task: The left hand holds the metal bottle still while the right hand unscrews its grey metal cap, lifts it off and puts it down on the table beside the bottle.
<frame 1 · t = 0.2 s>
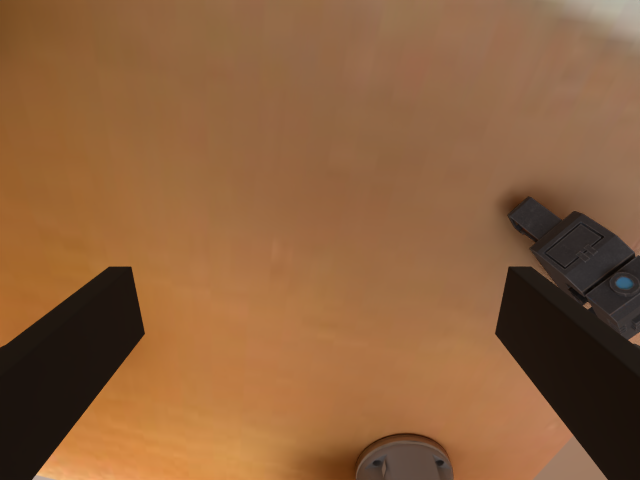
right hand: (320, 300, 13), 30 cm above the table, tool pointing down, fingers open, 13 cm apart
tool: (556, 252, 44), on the table
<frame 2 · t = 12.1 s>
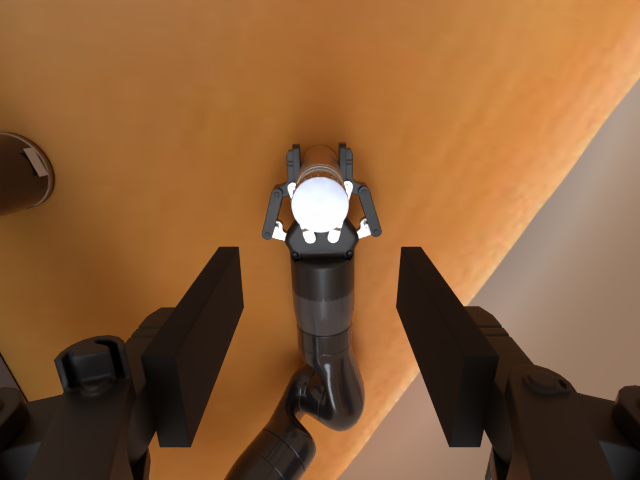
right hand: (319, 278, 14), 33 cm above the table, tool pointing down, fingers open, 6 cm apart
left hand: (318, 144, 38), fingers closed on bottle, 4 cm apart
bottle: (320, 161, 45), on the table, touching left hand
cap: (320, 204, 25), point 21 cm above the table, screwed on, not yet turned
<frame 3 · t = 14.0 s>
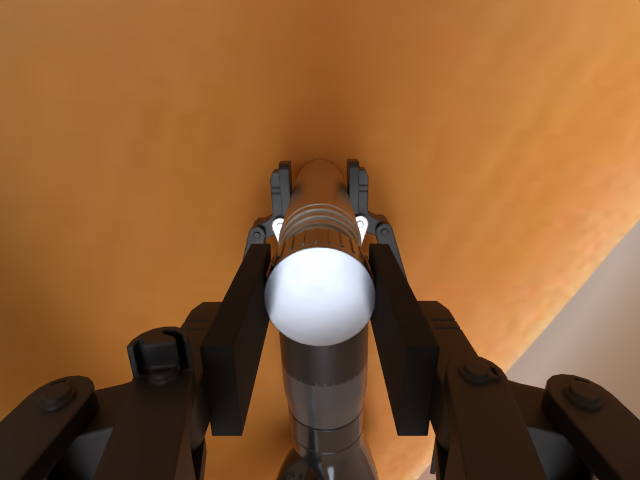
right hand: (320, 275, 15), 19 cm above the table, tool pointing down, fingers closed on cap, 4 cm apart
left hand: (318, 162, 26), fingers closed on bottle, 4 cm apart
bottle: (319, 182, 33), on the table, touching left hand
cap: (319, 295, 13), point 21 cm above the table, screwed on, not yet turned, touching right hand
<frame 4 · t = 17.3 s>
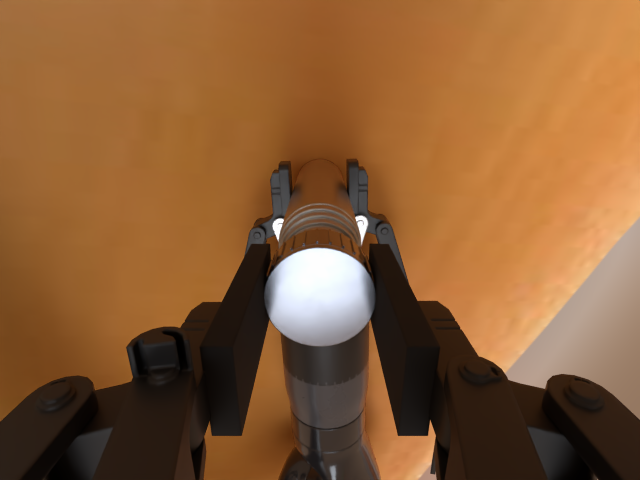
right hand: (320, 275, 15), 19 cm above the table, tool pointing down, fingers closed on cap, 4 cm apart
left hand: (318, 162, 26), fingers closed on bottle, 4 cm apart
bottle: (319, 182, 33), on the table, touching left hand
cap: (319, 295, 13), point 21 cm above the table, turned 92° so far, risen 0.1 cm, still on its thread, touching right hand
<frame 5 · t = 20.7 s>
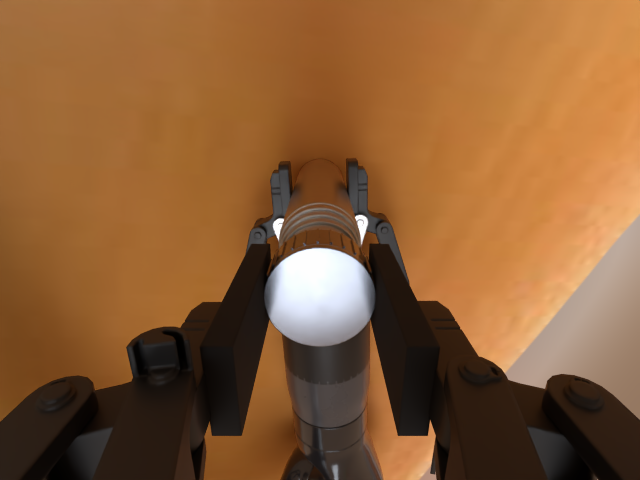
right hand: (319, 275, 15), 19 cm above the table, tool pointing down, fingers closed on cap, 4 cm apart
left hand: (317, 162, 26), fingers closed on bottle, 4 cm apart
bottle: (319, 181, 33), on the table, touching left hand
cap: (319, 295, 13), point 21 cm above the table, turned 184° so far, risen 0.2 cm, still on its thread, touching right hand
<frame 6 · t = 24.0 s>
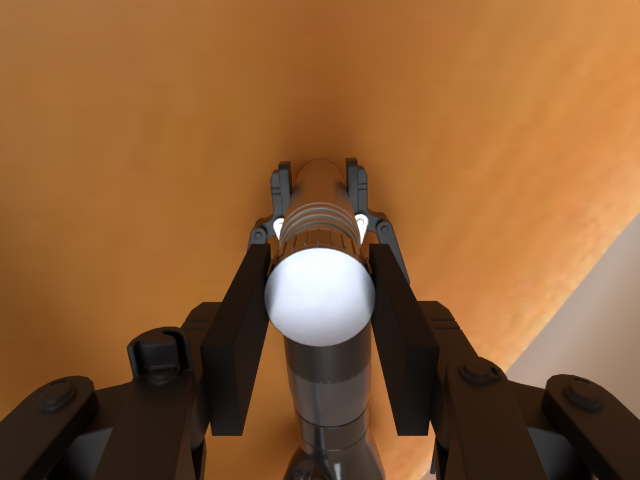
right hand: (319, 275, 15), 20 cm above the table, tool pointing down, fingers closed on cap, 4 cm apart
left hand: (317, 162, 26), fingers closed on bottle, 4 cm apart
bottle: (319, 181, 33), on the table, touching left hand
cap: (319, 295, 13), point 21 cm above the table, turned 276° so far, risen 0.3 cm, still on its thread, touching right hand
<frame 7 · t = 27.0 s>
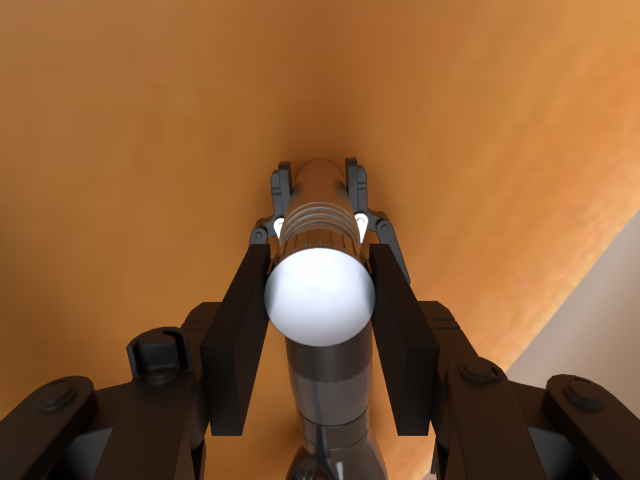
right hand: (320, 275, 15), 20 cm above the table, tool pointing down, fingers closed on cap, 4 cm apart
left hand: (317, 162, 26), fingers closed on bottle, 4 cm apart
bottle: (319, 181, 33), on the table, touching left hand
cap: (319, 295, 13), point 21 cm above the table, turned 368° so far, risen 0.4 cm, still on its thread, touching right hand
when the right hand's fingers open (2 cm above the table, at t = 35.2 s): cap drops 2 cm, point 2 cm above the table.
when the left hand's fingers open (7 cm above the table, at t = 36.5 s): bottle stays where it is, on the table.
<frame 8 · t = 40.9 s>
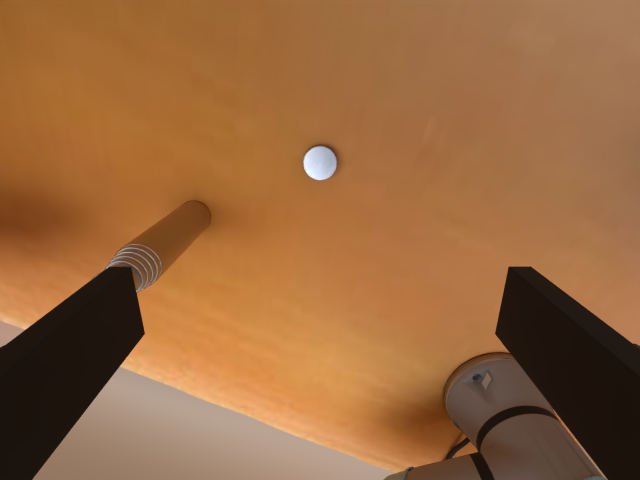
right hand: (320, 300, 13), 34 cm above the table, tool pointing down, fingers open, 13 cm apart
bottle: (195, 216, 47), on the table
cap: (320, 163, 43), point 2 cm above the table, off its thread
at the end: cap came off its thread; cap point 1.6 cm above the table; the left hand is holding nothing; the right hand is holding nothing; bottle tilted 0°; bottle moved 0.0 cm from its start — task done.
